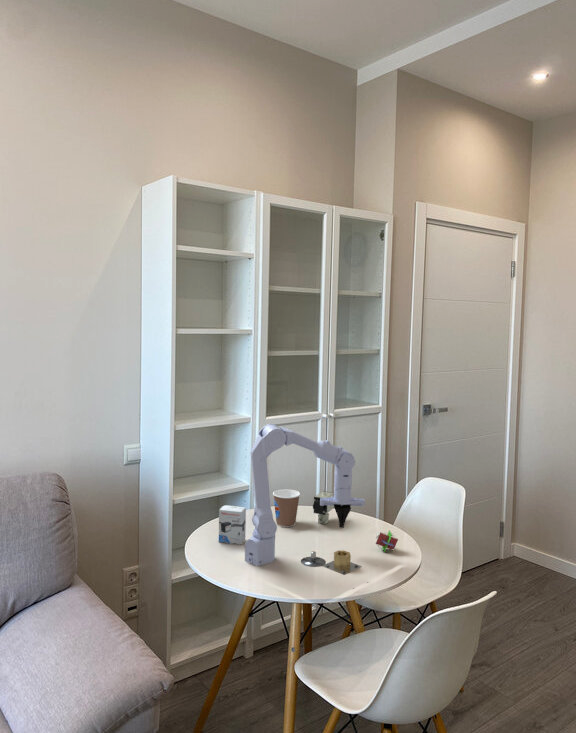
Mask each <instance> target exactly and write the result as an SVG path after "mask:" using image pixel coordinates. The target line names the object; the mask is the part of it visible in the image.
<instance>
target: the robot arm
mask: <svg viewBox="0 0 576 733" xmlns="http://www.w3.org/2000/svg"><path fill="white" fill-rule="evenodd" d="M292 444H293V445H296V446H299V447H301V448H304V449H307V450H309V451H312V452H313V454H314V456H315V458H318V459H320V460H322V461H325V462H327V463H329V464H332V465H334V474H333V475H334V477H333V478H334V479H333V493H334V497H332V498H320V506H324V505H334V508H333V509H334V511H335V513H336V515H337V519H338V527H339V528H340V529H342V528H345V525H346V524H345V523H346V521H347V517H348V516H349V514H350V512H351V510H352V507H351V506H354V507H355V506H357V507H358V506H359V507H365V504H366V502H365V499H364V498H355V497H352V486H353V485H352V482H353V479H352V478H353V468H354V466H355V465H356V460H355V457H354V455H353V453H350V452H349V451H348V450H346V449H345V448H343V447H342V446H337V445H334V444H332V443H331V441H330V440H327V439H326V440H323V439H322V440H319V441H315V440H313V439H311V438H309V437H307V436H304V435H303V434H301V433H298V432H296V431H294V430H292V429H290V428H286V427H284V426H281V425H278V426H277V425H276V424H274V423H268V424H266V425H264V426H263V427H261V429H260V430H259V431H258V432H257V437H256V439H255V441H254V443H253V445H252V447H251V449H250V463H251V472H252V484H253V485H252V486H253V497H254V508H253V515H252V518H251V521H252V524H253V526H254V529H253V532H252V535H251V536H250V538H248V539H247V540H245V543H244V561H245V562H246V563H248V564H251V565H253V566H256V567H260V566H262V565H265V564H270V563H273V562H274V561H275V558H276V557H275V555H276V533H277V530H278V529H277V528H278V525H277V522H276V520H275V519H274V517H273V515H274V514H273V510H272V507H271V495H270V486H269V485H270V483H269V482H270V481H269V474H268V471H269V470H268V462H267V461H268V460H267V459H268V457H269V456H270V455H271V454H272V453H273V452H275V451H277V450H279V449H281V448H282V447H283V446H284V445H285V446H290V445H292ZM274 520H275V521H274Z"/></svg>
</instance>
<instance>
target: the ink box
mask: <svg viewBox="0 0 576 733" xmlns="http://www.w3.org/2000/svg"><path fill="white" fill-rule="evenodd" d="M246 517H247V508H246V507H244V506H243V507H242V506H236V505H223V506H221V507H220V508H219V509H218V542H219V541H220V542H219V543H223V542H228V543H227V544H232V543H236V544H235V545H240V544H241V545H242V544H243V543H244V542H246V533H247V532H246V526H247V524H246V522H247V521H246V520H247V518H246Z"/></svg>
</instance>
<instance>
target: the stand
mask: <svg viewBox="0 0 576 733" xmlns="http://www.w3.org/2000/svg"><path fill="white" fill-rule="evenodd" d="M300 563H301V564H302V565H303V566H306V567H310V568H319V567H323V565H325V564H327V561H326V560H325V559H324V558H322V557H320V556H317V552H316V551H310V556H305V557H303V558H302V559H300Z"/></svg>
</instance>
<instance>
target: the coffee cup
mask: <svg viewBox="0 0 576 733" xmlns="http://www.w3.org/2000/svg"><path fill="white" fill-rule="evenodd" d="M272 496H273V503H274V514H275V523H276V525H277V527H281V528H291V527H294V526H296V523H297V522H296V521H297V513H298V506H299V500H300V496H301V493H300V492H299V491H298V490H294V489H284V488H283V489H282V488H281V489H278V490H277V489H276V490H275V491H273V492H272Z"/></svg>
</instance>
